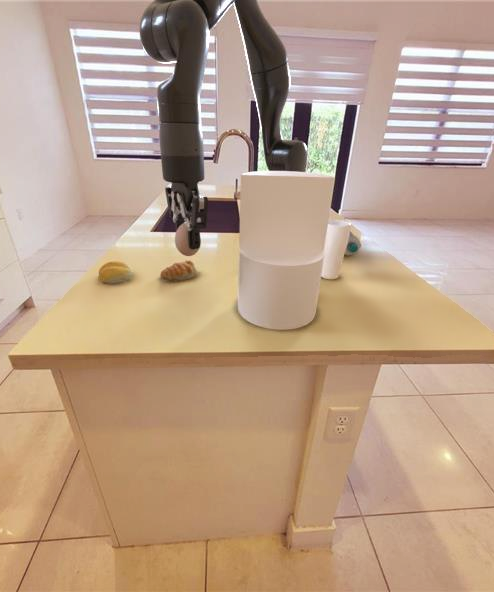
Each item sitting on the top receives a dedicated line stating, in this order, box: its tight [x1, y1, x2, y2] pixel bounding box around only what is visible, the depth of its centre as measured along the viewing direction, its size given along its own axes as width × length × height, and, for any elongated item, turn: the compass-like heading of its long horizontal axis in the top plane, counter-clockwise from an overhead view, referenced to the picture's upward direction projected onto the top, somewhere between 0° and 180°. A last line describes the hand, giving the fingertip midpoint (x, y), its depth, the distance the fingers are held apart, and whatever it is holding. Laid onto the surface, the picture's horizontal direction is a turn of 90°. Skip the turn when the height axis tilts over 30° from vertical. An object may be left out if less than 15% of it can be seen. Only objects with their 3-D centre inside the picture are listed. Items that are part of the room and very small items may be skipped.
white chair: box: [237, 170, 336, 331], centre depth 64 cm, size 17×17×28 cm
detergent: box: [344, 231, 362, 256], centre depth 108 cm, size 13×7×25 cm
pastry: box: [160, 260, 198, 282], centre depth 83 cm, size 9×7×4 cm
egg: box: [174, 223, 202, 257], centre depth 63 cm, size 5×5×7 cm
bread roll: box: [97, 260, 133, 285], centre depth 82 cm, size 8×9×4 cm
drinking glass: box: [321, 219, 352, 281], centre depth 83 cm, size 7×7×15 cm
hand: (188, 243), depth 63 cm, fingers closed on egg, 5 cm apart
